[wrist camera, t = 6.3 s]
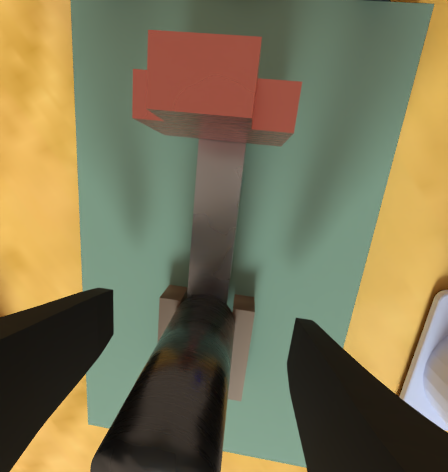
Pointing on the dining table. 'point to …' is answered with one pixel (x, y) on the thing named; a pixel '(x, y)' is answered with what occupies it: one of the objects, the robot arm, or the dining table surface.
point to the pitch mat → (253, 185)
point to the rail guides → (242, 333)
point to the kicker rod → (198, 244)
